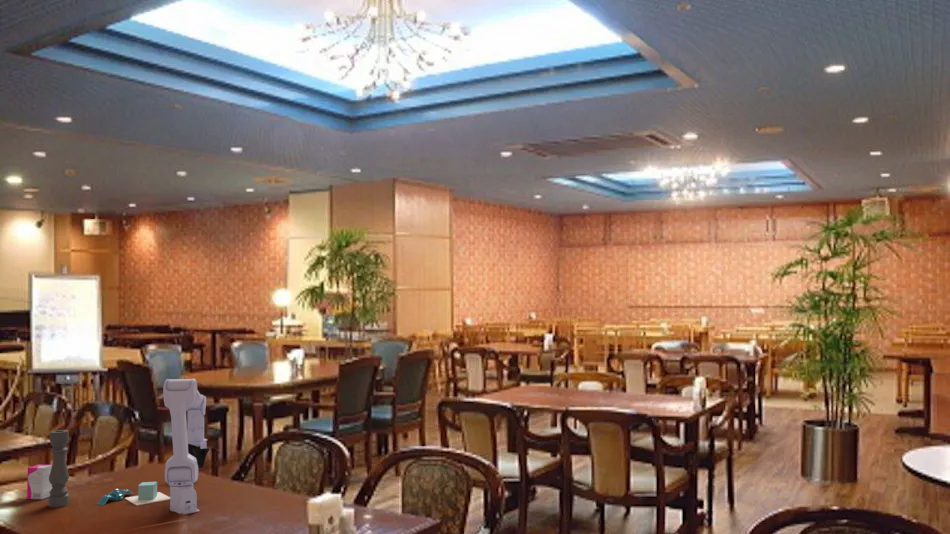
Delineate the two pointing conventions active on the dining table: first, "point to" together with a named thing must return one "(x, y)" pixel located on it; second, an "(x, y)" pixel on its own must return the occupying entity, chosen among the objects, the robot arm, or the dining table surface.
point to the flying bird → (114, 496)
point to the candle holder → (59, 469)
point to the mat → (140, 502)
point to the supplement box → (38, 482)
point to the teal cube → (147, 491)
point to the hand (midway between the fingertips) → (195, 466)
